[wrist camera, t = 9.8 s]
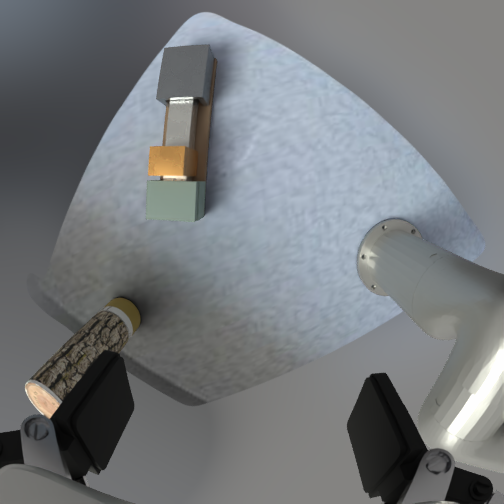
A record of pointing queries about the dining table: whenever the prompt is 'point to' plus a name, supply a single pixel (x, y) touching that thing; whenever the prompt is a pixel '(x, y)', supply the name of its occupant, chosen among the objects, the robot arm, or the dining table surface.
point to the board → (200, 133)
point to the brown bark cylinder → (82, 354)
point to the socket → (175, 200)
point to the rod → (177, 144)
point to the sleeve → (186, 74)
